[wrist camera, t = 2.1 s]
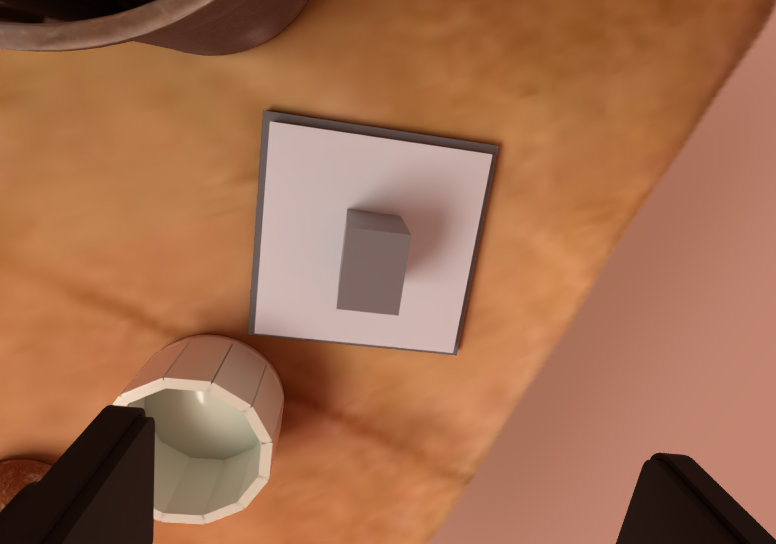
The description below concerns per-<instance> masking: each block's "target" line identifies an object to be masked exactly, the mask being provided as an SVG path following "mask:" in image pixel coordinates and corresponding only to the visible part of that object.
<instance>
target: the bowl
mask: <svg viewBox="0 0 776 544" xmlns="http://www.w3.org/2000/svg"><path fill="white" fill-rule="evenodd" d="M113 405H116V406H128V407H139V408H143V409H144V410H145V413H146V417H153V418H154V420H155V464H154V519H156V520H158V521H160V520H161V519H162V522H170V523H189V524H205V523H206V524H208V523H210V522H213V521H215V520H218V519H220V518H223V517H226V516H228V515H231V514H233V513H236V512H238V511H241V510H244V508H246V507H247V506H248V504H249V503H250V502H251V501H252V500H253V498H254V497H255V496H256V495H257V494H258V492H259V491H260V490H261V489H262V488H263V486H264V485H265V484H266V483H267V482H268V480H269V478H270V474H271V469H272V465H273V461H274V456H275V452H276V447H277V443H278V439H279V434H280V430H281V422H282V414H283V409H284V391H283V386H282V383H281V380H280V378H279V376H278V373H277V372H276V370H275V369H274V367H273V365H272V364H271V363H270V362H269V361H268V359H267V358H266V357H264V356H263V355H262V354H261V353H260V352H259V351H257V350H256V349H255V348H253V347H251V346H250V345H248V344H246V343H244V342H242V341H239V340H237V339H234V338H230V337H227V336H221V335H209V334H205V335H195V336H190V337H186V338H183V339H180V340H177V341H175V342H173V343H171V344H169V345H168V346H166V347H165V348H163V349H162V350H161V351H159V352H157V353H155V354H154V355H153V356H152V358H151V359H150V360H149V361H148V362H147V363H146V365H145V366H144V367H143V368H142V369H141V370H140V372H139V373H138V374H137V375H136V376H135V378H134V379H133V380H132V381H131V382H130V383H129V385H128V386H127V387H126V388H125V389H124V390H123V392H122V393H121V394H120V395H119V396H118V398H117V399H116V400H115V402H114V403H113Z"/></svg>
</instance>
